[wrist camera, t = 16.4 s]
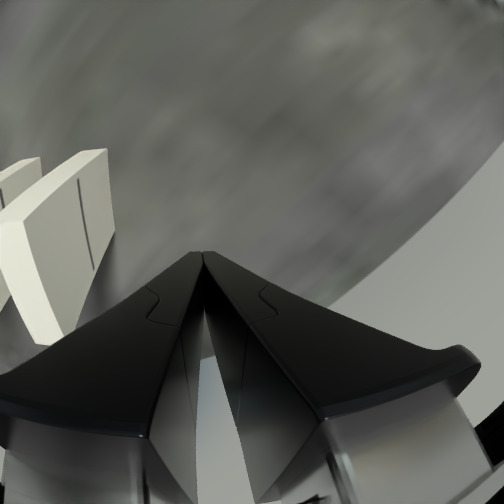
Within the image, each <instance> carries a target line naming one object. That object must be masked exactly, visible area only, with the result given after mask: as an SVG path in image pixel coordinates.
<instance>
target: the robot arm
mask: <svg viewBox="0 0 504 504" xmlns="http://www.w3.org/2000/svg"><path fill="white" fill-rule="evenodd" d="M204 310H205V316H206V320H207V324H208V328H209V332H210V336H211V340H212V344H213V348H214V352H215V355H216V359H217V363H218V367H219V370H220V373H221V377H222V381H223V384H224V388H225V391H226V395H227V398H228V401H229V405H230V408H231V412H232V415H233V418H234V421H235V425H236V427H237V431H238V434H239V438H240V442H241V446H242V450H243V454H244V459H245V463H246V468H247V472H248V477H249V481H250V485H251V489H252V494H253V498H254V502H255V504H260V503H266V502H272V501H278V500H281V502H282V504H504V401H503V402H502V404H501V405H500V406H499V407H498V408H497V409H495V410H494V411H493V412H492V413H491V414H490V415H489V416H488V417H487V418H486V419H484V420H483V421H482V422H481V423H480V424H479V425H477V426H476V427H475V428H474V427H473V426H472V424H471V422H470V420H469V418H468V417H467V415H466V413H465V412H464V410H463V408H462V407H461V405H460V403H459V402H458V400H457V398H456V397H457V396H458V395H459V394H460V393H461V392H462V391H463V390H464V389H465V388H466V387H467V386H468V384H469V383H470V382H471V381H472V380H473V379H474V378H475V376H476V375H477V373H478V372H479V370H480V368H481V362H480V361H479V359H478V358H477V357H476V356H475V355H474V354H473V353H472V352H471V351H470V350H468V349H467V348H465V347H464V346H462V345H455V346H451V347H448V348H446V349H441V350H431V349H426V348H423V347H420V346H417V345H414V344H412V343H410V342H407V341H405V340H402V339H400V338H397V337H395V336H392V335H390V334H388V333H385V332H382V331H380V330H377V329H375V328H373V327H370V326H368V325H365V324H363V323H361V322H358V321H355V320H353V319H351V318H348V317H346V316H344V315H341V314H339V313H336V312H334V311H332V310H329V309H327V308H325V307H322V306H320V305H317V304H315V303H313V302H310V301H308V300H306V299H304V298H301V297H299V296H297V295H295V294H292V293H290V292H288V291H286V290H284V289H282V288H280V287H279V286H277V285H275V284H273V283H270V282H269V281H267V280H265V279H263V278H261V277H260V276H258V275H256V274H254V273H252V272H251V271H249V270H247V269H245V268H243V267H242V266H240V265H238V264H236V263H234V262H233V261H231V260H229V259H227V258H225V257H224V256H222V255H220V254H218V253H217V252H215V251H204V252H203V253H202V252H200V251H198V252H189V253H187V254H186V255H185V256H183V257H182V258H180V259H179V260H178V261H176V262H175V263H174V264H172V265H171V266H170V267H168V268H167V269H166V270H164V271H163V272H162V273H160V274H159V275H158V276H156V277H155V278H154V279H152V280H151V281H150V282H148V283H147V284H146V285H144V286H143V287H141V288H140V289H138V290H137V291H136V292H134V293H133V294H131V295H130V296H129V297H127V298H126V299H124V300H123V301H121V302H120V303H118V304H116V305H115V306H113V307H112V308H110V309H108V310H107V311H105V312H103V313H102V314H100V315H98V316H97V317H95V318H93V319H92V320H90V321H89V322H87V323H85V324H84V325H82V326H80V327H79V328H77V329H76V330H74V331H72V332H71V333H69V334H67V335H66V336H64V337H63V338H61V339H59V340H58V341H56V342H55V343H53V344H51V345H50V346H48V347H47V348H45V349H44V350H42V351H40V352H39V353H37V354H36V355H34V356H33V357H31V358H29V359H28V360H26V361H25V362H23V363H22V364H20V365H19V366H17V367H15V368H14V369H12V370H11V371H9V372H7V373H4V374H1V375H0V446H1V447H3V448H4V449H5V450H6V451H5V457H4V463H3V471H2V480H1V482H0V504H198V500H197V499H198V498H197V478H196V448H195V447H196V418H197V400H198V384H199V370H200V357H201V344H202V333H203V321H204Z"/></svg>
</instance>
